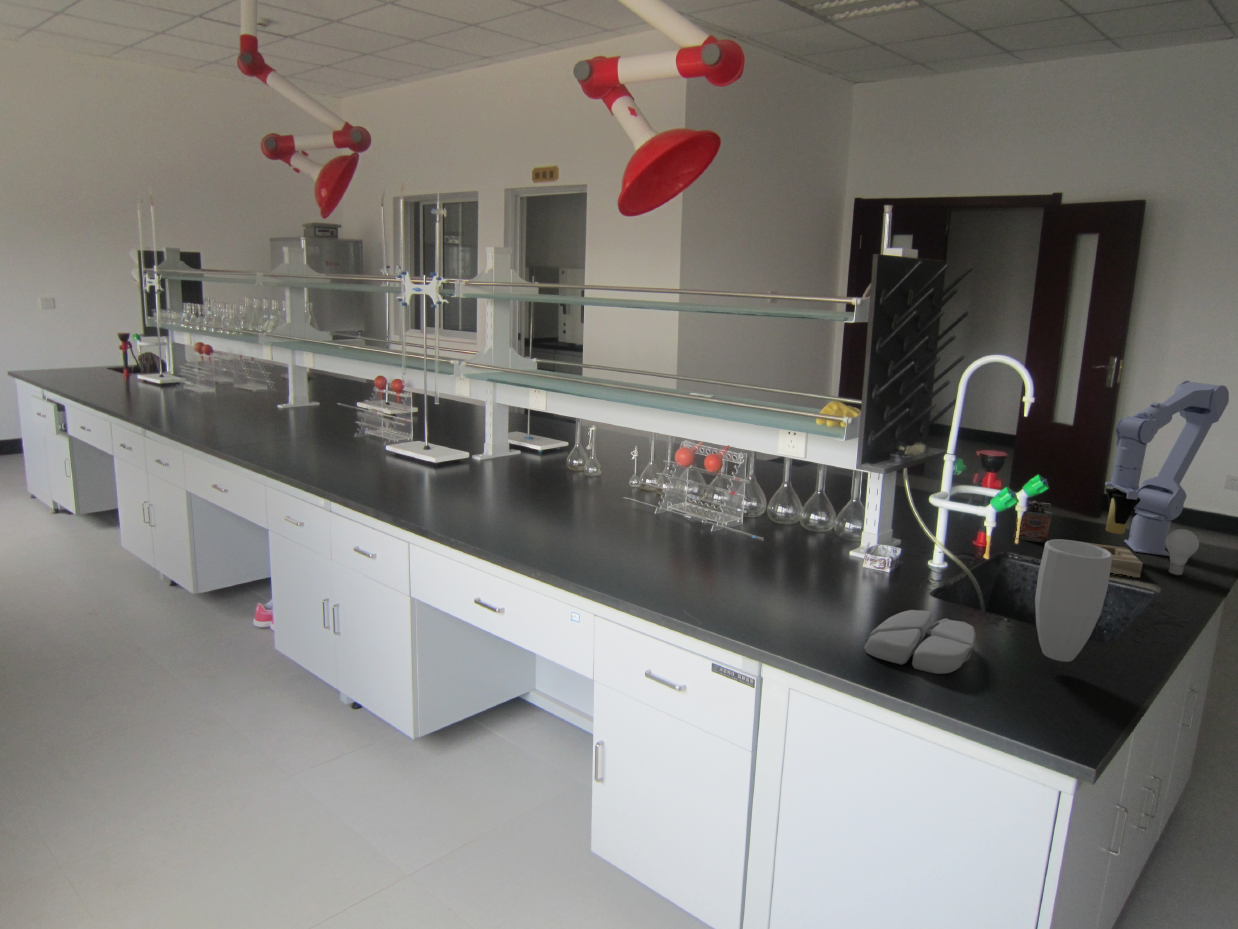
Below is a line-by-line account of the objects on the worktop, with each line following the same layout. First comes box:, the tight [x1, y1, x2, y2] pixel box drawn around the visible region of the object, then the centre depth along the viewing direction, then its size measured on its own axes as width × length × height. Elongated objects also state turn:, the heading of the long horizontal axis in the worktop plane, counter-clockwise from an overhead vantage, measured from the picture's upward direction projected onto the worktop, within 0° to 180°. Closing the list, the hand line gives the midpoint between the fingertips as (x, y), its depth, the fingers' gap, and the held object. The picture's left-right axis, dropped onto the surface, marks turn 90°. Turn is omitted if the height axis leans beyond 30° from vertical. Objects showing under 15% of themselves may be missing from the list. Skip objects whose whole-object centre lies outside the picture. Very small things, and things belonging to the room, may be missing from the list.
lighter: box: [1013, 500, 1054, 543], centre depth 212 cm, size 8×3×10 cm, turn 76°
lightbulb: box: [1165, 528, 1200, 577], centre depth 190 cm, size 6×6×11 cm
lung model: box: [863, 609, 977, 675], centre depth 144 cm, size 7×17×25 cm
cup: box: [1034, 539, 1112, 663], centre depth 134 cm, size 10×10×22 cm
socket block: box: [1083, 541, 1144, 579], centre depth 194 cm, size 12×12×4 cm
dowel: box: [1105, 498, 1128, 535], centre depth 201 cm, size 4×4×8 cm
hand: (1117, 520), depth 201 cm, fingers closed on dowel, 4 cm apart
